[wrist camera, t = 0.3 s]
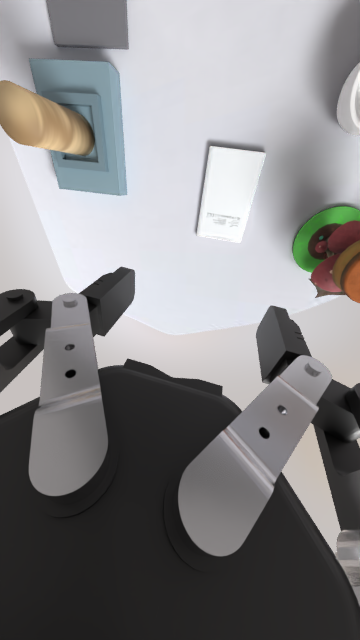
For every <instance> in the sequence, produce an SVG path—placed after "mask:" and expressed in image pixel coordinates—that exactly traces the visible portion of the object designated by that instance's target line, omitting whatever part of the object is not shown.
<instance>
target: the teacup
mask: <svg viewBox="0 0 360 640" xmlns="http://www.w3.org/2000/svg"><path fill="white" fill-rule="evenodd" d="M337 119H338V123H339V125H340V126H341V128H342V129H343V130H344V131H345V132H346V133H348V134H350V135H354V136H358V135H360V62H359V63H358V64H357V66H356V67H355V68H354V69H353V70H352V72H351V73H350V74H349V76H348V78H347V79H346V81H345V83H344V85H343V88H342V90H341V93H340V96H339V100H338V105H337Z"/></svg>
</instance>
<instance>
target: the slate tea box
mask: <svg viewBox="0 0 360 640" xmlns="http://www.w3.org/2000/svg"><path fill="white" fill-rule="evenodd" d="M29 62H30V66H31V70H32V75H33V79H34V83H35V87H36V92H37V94H38V95H40V96H42V97H44V98H46V99H48V100H51V101H53V102H55V103H57V104H59V105H61V106H63V107H66V108H68V109H70V110H72V111H74V112H76V113H78V114H81V115H82V116H84V117H85V118H86V119H87V120H88V122H89V123H90V125H91V127H92V129H93V132H94V138H95V143H94V148H93V150H92V152H91V153H90V154H89V155H87V156H81V155H76V154H71V153H65V152H60V151H55V150H50V151H51V155H52V159H53V164H54V168H55V172H56V176H57V181H58V185H59V189H68V190H76V191H85V192H93V193H102V194H110V195H118V196H121V195H127V185H126V170H125V154H124V139H123V124H122V109H121V93H120V78H119V72H118V71H117V70H116V69H115V68H114V67H113V66H112V65H111V64H110V63H109V62H101V61H77V60H53V59H29Z"/></svg>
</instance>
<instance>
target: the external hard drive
mask: <svg viewBox="0 0 360 640" xmlns="http://www.w3.org/2000/svg"><path fill="white" fill-rule="evenodd" d="M265 156H266V153H264V152H256V151H248V150H240V149H232V148H224V147H216V146H210V148H209V154H208V161H207V168H206V174H205V181H204V188H203V194H202V201H201V208H200V214H199V221H198V228H197V234H196V236H200V237H207V238H213V239H219V240H225V241H232V242H237V243H241V239H242V236H243V233H244V229H245V226H246V222H247V219H248V215H249V212H250V208H251V205H252V201H253V198H254V194H255V191H256V187H257V184H258V180H259V177H260V173H261V170H262V166H263V163H264V159H265Z"/></svg>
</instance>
